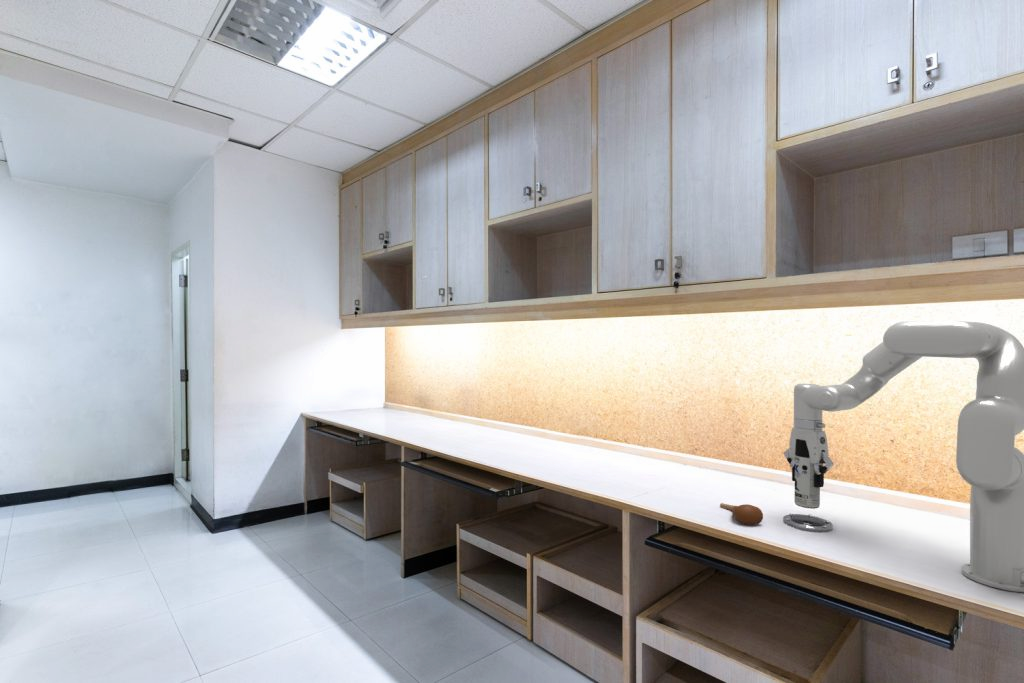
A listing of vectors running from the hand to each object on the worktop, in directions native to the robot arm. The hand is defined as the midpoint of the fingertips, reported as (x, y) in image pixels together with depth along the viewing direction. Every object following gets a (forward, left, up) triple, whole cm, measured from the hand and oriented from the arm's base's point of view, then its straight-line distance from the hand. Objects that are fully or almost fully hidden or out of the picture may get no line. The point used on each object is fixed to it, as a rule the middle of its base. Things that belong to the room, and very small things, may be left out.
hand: (807, 483), depth 153 cm
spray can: (0, 0, -7) cm, 7 cm away
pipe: (+13, +15, -13) cm, 24 cm away
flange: (0, 0, -12) cm, 12 cm away
